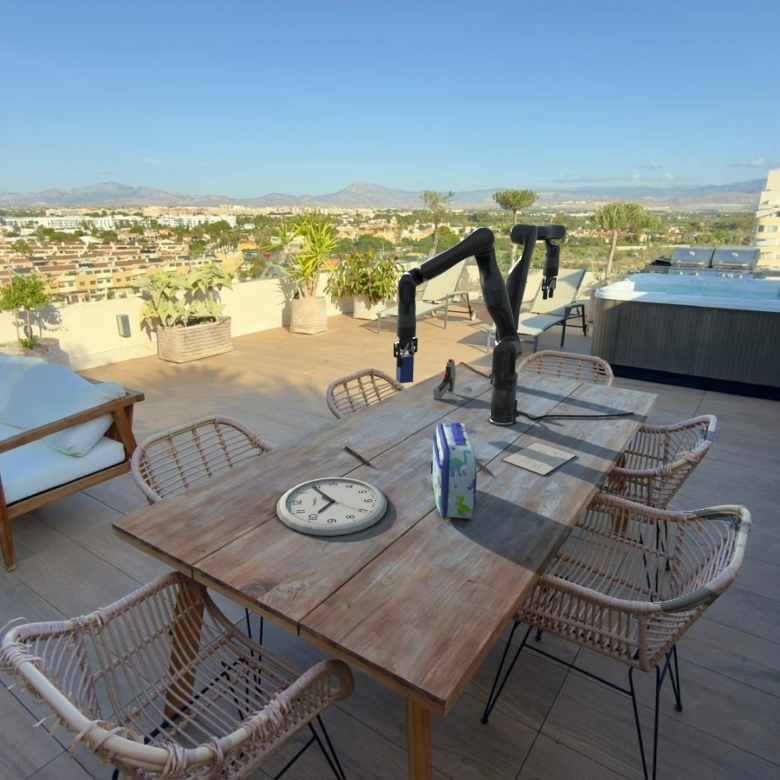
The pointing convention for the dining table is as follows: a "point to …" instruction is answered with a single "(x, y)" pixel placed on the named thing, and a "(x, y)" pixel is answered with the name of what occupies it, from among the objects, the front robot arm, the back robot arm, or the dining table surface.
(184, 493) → the dining table surface
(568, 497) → the dining table surface
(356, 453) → the brown wooden stick
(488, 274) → the front robot arm
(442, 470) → the lunch box
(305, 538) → the dining table surface
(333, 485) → the wall clock
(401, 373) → the block
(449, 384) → the toy gun
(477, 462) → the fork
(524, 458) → the invitation card
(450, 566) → the dining table surface
